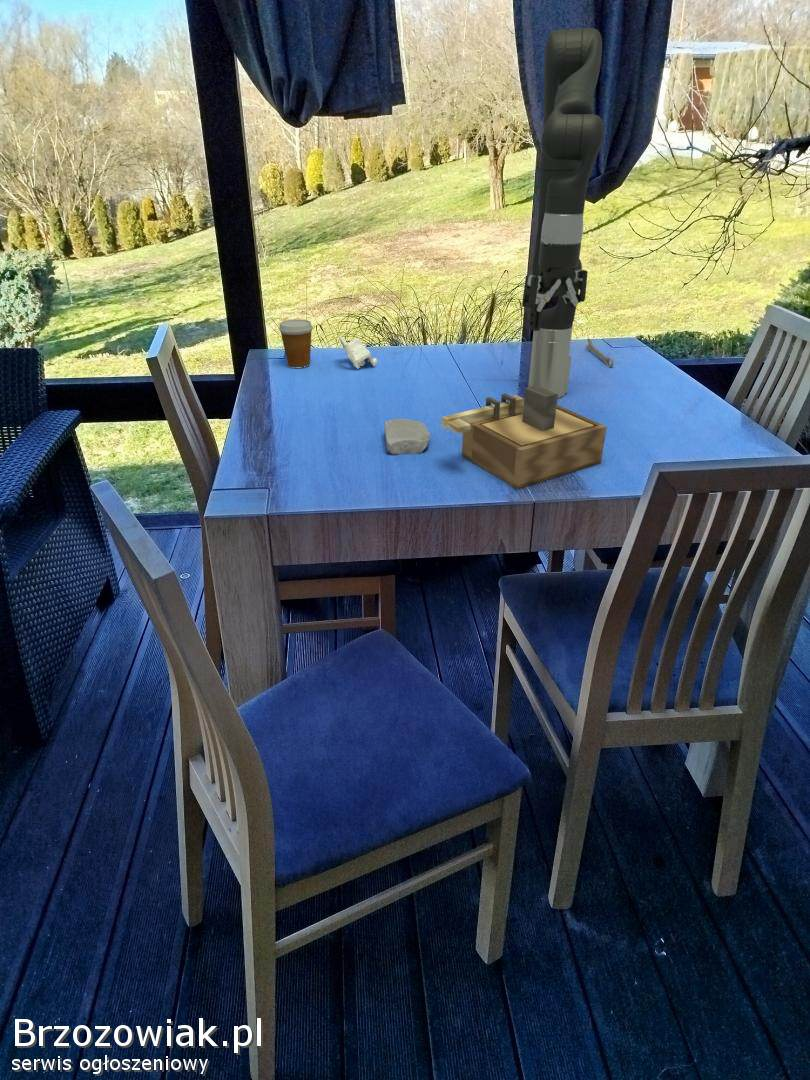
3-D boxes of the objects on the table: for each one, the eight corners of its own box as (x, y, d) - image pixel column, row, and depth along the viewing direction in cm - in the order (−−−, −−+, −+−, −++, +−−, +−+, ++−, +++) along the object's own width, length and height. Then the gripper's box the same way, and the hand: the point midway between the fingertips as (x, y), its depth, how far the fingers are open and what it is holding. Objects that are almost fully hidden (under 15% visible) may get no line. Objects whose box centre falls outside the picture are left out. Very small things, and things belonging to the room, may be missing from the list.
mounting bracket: (351, 365, 203) (335, 333, 197) (370, 354, 203) (354, 322, 197) (361, 377, 193) (344, 343, 187) (380, 366, 193) (364, 332, 187)
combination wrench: (615, 357, 192) (590, 337, 208) (610, 357, 192) (586, 337, 208) (612, 370, 194) (588, 349, 210) (608, 370, 194) (584, 349, 210)
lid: (551, 411, 145) (555, 374, 141) (593, 430, 136) (599, 391, 132) (481, 428, 137) (483, 390, 132) (521, 450, 128) (525, 409, 123)
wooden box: (541, 434, 152) (547, 383, 146) (600, 463, 139) (609, 409, 133) (461, 455, 142) (464, 402, 136) (517, 489, 129) (522, 432, 123)
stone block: (423, 440, 155) (380, 433, 153) (428, 420, 152) (384, 413, 150) (430, 464, 145) (384, 457, 143) (435, 443, 142) (388, 436, 140)
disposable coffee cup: (286, 372, 191) (282, 328, 185) (279, 362, 199) (275, 320, 192) (319, 368, 194) (316, 325, 188) (310, 359, 202) (307, 317, 195)
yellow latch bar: (514, 407, 144) (515, 394, 142) (533, 416, 139) (534, 403, 138) (440, 425, 135) (440, 412, 134) (457, 435, 131) (458, 422, 129)
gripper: (575, 235, 134) (564, 319, 142) (518, 239, 127) (511, 328, 136) (603, 239, 128) (590, 327, 136) (545, 244, 122) (536, 336, 130)
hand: (551, 327), depth 136 cm, fingers open, 8 cm apart
